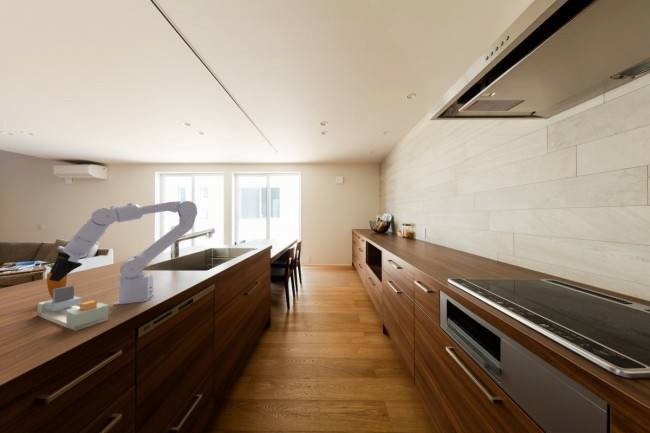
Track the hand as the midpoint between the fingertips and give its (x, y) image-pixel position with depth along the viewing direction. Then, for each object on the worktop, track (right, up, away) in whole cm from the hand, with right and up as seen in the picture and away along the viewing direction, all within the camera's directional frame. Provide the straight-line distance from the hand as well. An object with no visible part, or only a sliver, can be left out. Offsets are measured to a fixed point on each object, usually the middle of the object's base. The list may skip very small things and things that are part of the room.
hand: (53, 276), depth 69 cm
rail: (+9, -12, -3) cm, 15 cm away
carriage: (+3, -9, 0) cm, 10 cm away
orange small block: (+18, -10, -6) cm, 22 cm away
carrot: (-13, -12, +11) cm, 21 cm away
